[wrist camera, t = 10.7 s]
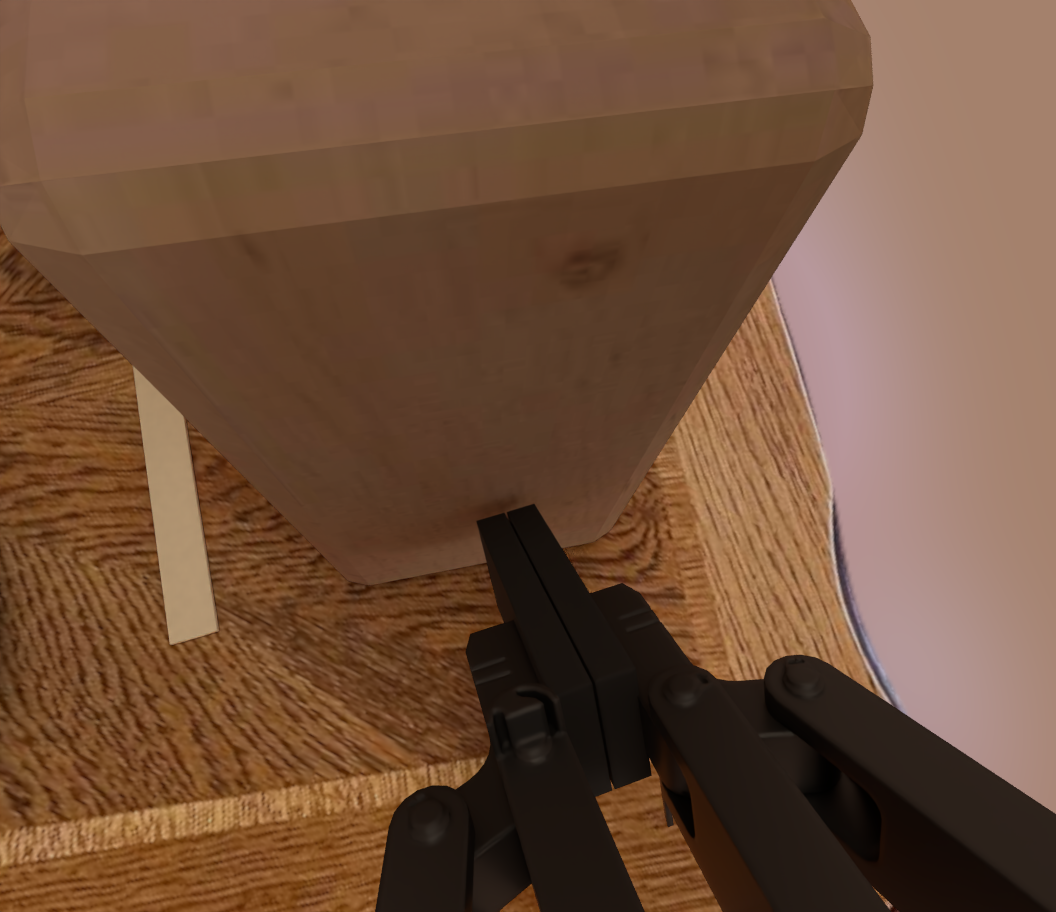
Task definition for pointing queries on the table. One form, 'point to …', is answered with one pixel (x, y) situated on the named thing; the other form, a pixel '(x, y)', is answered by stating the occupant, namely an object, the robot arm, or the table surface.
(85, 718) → the table surface
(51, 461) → the table surface
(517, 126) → the wooden block
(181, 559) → the tape strip
